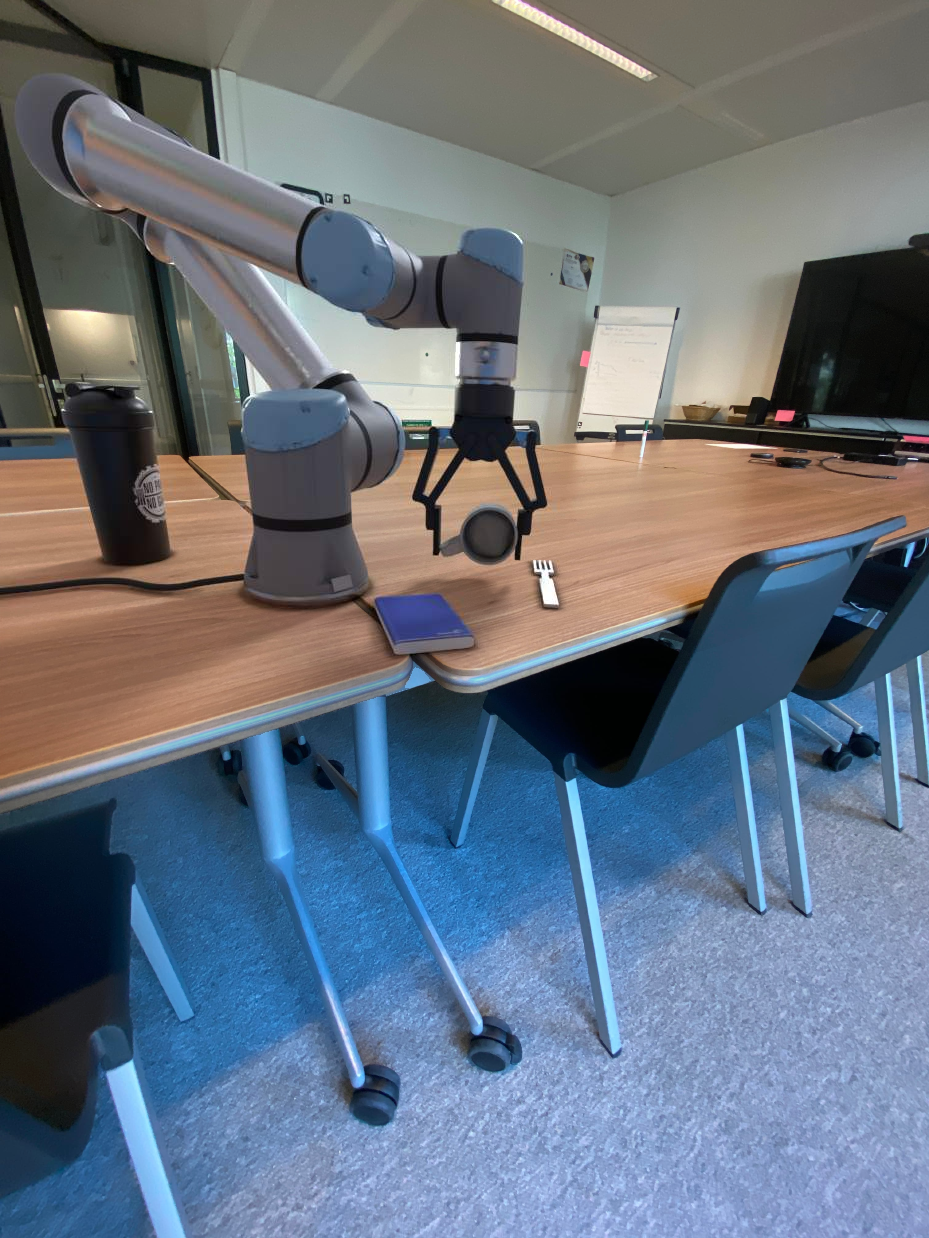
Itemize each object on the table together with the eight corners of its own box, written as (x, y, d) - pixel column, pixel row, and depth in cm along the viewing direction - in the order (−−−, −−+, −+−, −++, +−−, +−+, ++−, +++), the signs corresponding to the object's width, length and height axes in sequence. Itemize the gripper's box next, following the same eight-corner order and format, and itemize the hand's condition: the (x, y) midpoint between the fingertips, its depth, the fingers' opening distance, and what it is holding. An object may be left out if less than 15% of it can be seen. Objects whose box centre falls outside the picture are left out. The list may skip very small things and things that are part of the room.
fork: (539, 607, 66) (540, 603, 65) (532, 562, 83) (532, 559, 83) (562, 608, 65) (562, 604, 65) (550, 563, 83) (550, 560, 83)
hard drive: (474, 633, 54) (441, 592, 64) (394, 640, 51) (373, 596, 62) (473, 647, 54) (441, 604, 65) (394, 655, 52) (374, 609, 63)
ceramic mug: (513, 550, 78) (516, 497, 75) (516, 566, 71) (519, 508, 68) (442, 548, 79) (441, 496, 76) (437, 564, 71) (436, 507, 68)
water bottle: (154, 568, 72) (118, 384, 63) (79, 565, 72) (32, 380, 63) (190, 548, 82) (163, 386, 73) (124, 545, 82) (89, 382, 73)
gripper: (386, 378, 63) (389, 558, 72) (583, 386, 62) (562, 568, 70) (398, 380, 70) (400, 543, 78) (575, 387, 69) (557, 552, 77)
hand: (476, 555), depth 74 cm, fingers closed on ceramic mug, 11 cm apart
